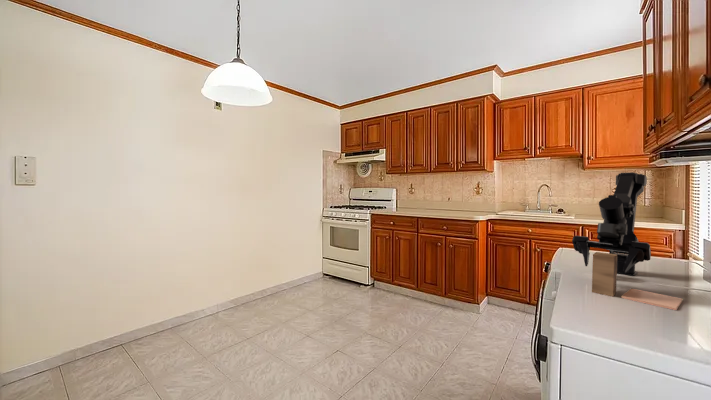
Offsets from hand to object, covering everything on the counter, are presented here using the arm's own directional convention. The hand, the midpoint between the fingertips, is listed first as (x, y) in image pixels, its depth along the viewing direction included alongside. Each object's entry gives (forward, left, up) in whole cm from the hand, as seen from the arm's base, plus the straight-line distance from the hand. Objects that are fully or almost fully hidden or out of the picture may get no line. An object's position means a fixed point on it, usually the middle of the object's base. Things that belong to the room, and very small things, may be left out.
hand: (604, 268), depth 91 cm
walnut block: (0, 0, -8) cm, 8 cm away
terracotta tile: (-4, +10, -8) cm, 13 cm away
